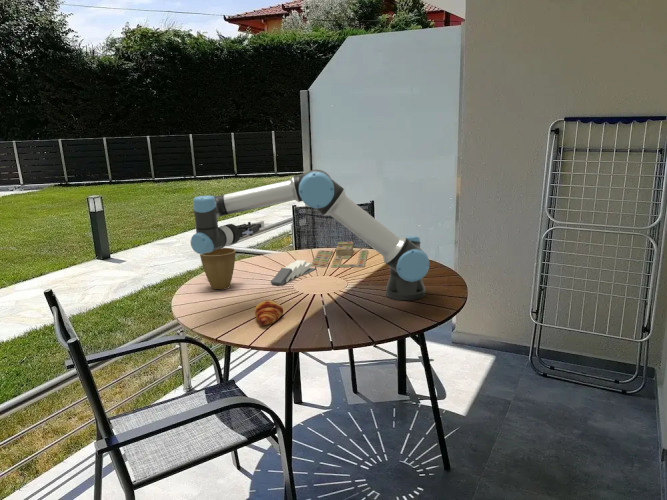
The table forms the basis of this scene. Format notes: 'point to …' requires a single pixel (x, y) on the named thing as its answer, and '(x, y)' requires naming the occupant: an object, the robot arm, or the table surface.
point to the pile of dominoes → (339, 256)
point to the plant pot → (219, 267)
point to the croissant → (268, 312)
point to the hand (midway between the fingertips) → (262, 223)
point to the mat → (309, 270)
